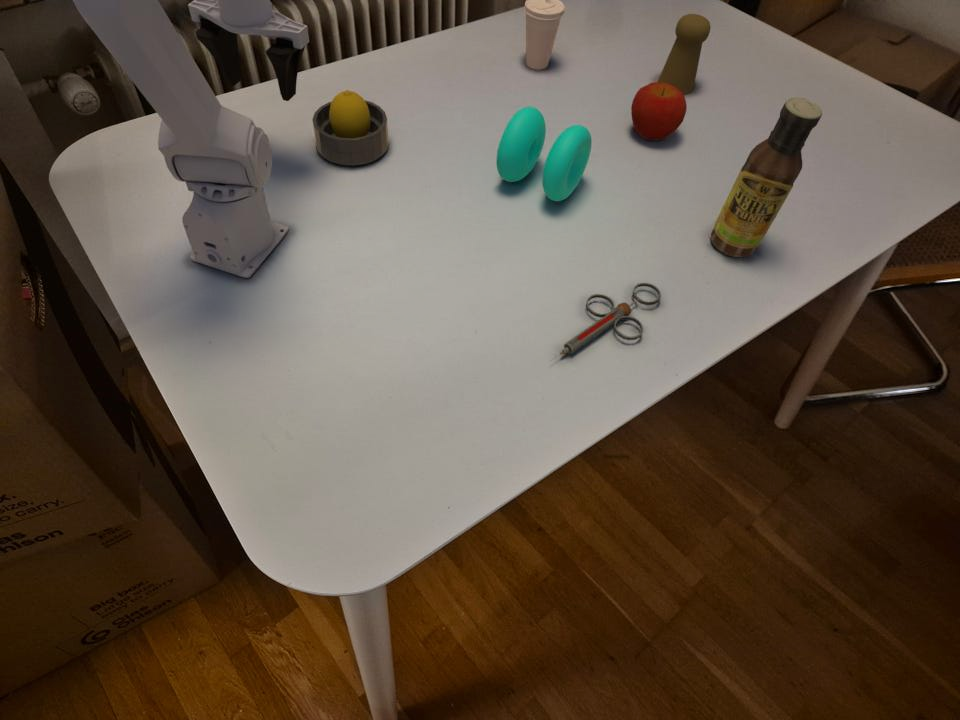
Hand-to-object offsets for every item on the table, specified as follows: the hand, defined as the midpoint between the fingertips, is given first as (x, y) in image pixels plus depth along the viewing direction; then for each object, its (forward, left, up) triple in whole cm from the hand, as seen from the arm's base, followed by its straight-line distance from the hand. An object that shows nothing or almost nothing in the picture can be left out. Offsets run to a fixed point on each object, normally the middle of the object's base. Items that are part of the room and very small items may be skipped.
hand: (262, 89), depth 84 cm
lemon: (+7, -8, -10) cm, 15 cm away
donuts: (+10, -35, -11) cm, 38 cm away
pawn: (+45, -48, -11) cm, 67 cm away
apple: (+29, -47, -11) cm, 56 cm away
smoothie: (+41, -25, -11) cm, 49 cm away
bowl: (+7, -8, -10) cm, 15 cm away
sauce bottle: (+9, -62, -11) cm, 64 cm away
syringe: (-12, -50, -11) cm, 52 cm away
